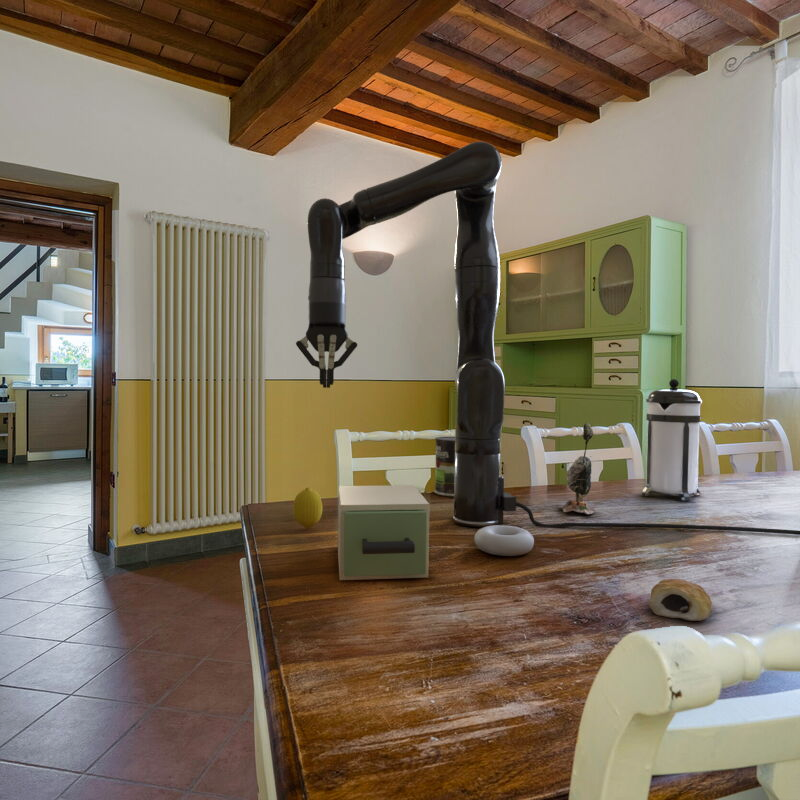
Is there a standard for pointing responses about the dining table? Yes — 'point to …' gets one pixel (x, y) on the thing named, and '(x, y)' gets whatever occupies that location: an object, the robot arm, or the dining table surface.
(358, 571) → the drawer
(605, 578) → the dining table surface
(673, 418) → the coffee press
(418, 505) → the small bedside cabinet
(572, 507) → the stone sculpture
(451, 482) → the coffee can
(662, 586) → the pastry
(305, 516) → the lemon
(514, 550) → the donut
